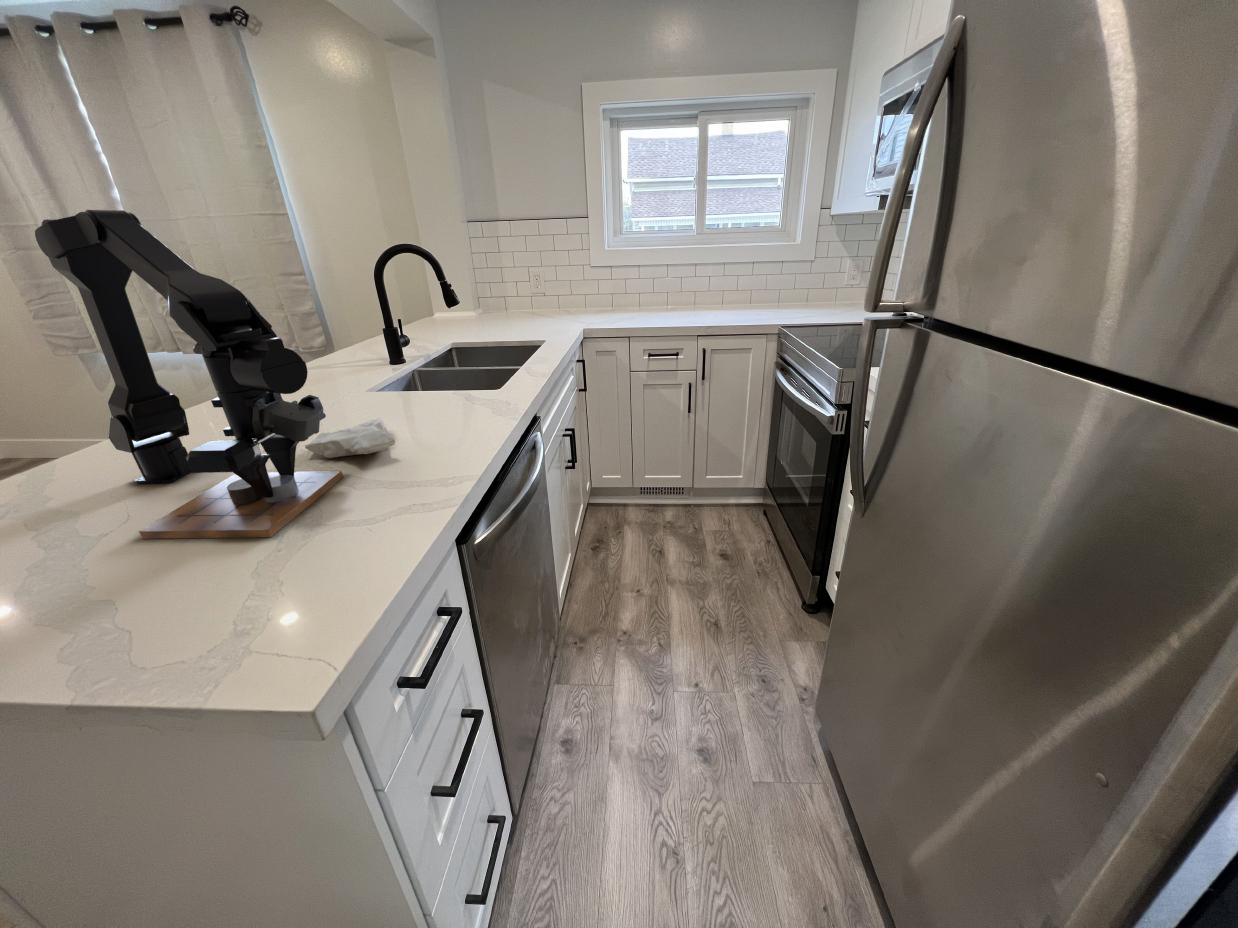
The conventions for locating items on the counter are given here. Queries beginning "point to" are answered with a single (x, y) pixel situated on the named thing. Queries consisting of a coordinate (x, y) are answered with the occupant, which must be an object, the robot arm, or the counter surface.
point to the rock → (353, 440)
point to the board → (239, 511)
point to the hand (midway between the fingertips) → (279, 489)
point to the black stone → (243, 493)
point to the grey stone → (282, 488)
